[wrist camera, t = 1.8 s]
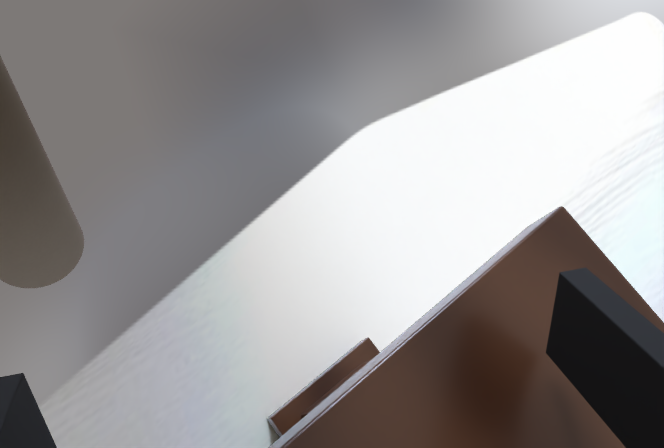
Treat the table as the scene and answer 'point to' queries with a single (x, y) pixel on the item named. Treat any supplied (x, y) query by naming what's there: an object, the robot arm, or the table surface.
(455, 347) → the pedestal
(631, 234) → the table surface
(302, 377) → the table surface
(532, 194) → the table surface
